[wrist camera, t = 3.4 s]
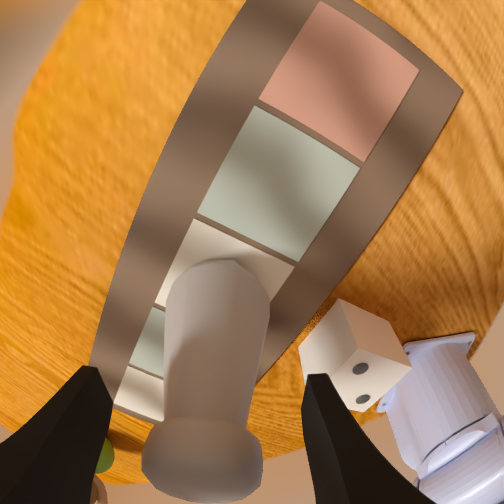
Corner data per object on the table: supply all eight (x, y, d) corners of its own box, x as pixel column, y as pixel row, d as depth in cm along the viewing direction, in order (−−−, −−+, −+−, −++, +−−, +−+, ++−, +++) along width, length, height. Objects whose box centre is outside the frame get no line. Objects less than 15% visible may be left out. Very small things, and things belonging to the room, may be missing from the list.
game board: (202, 437, 29) (202, 440, 29) (83, 392, 26) (81, 395, 26) (460, 89, 14) (464, 90, 14) (275, -39, 11) (276, -42, 11)
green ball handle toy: (116, 452, 32) (97, 531, 21) (71, 429, 30) (45, 508, 19) (133, 441, 30) (114, 531, 19) (84, 416, 28) (54, 506, 17)
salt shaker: (168, 245, 18) (86, 446, 7) (266, 241, 18) (292, 460, 7) (182, 323, 21) (144, 507, 10) (267, 321, 21) (282, 513, 10)
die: (348, 364, 24) (363, 413, 20) (298, 346, 23) (307, 399, 18) (388, 320, 22) (412, 368, 18) (338, 297, 21) (358, 348, 16)
